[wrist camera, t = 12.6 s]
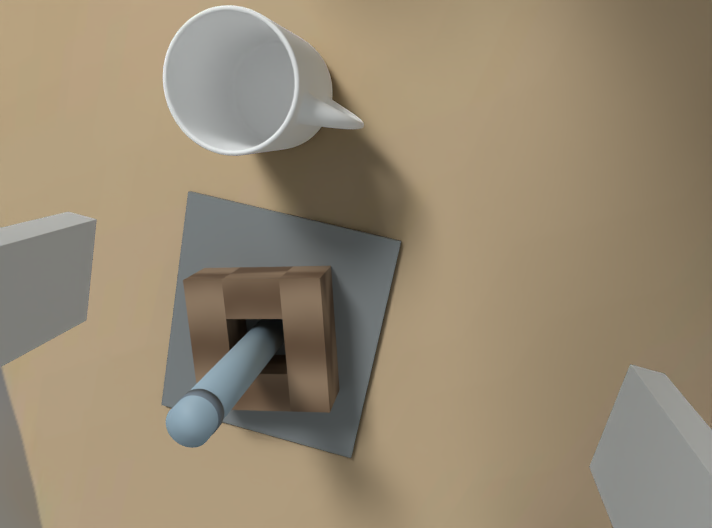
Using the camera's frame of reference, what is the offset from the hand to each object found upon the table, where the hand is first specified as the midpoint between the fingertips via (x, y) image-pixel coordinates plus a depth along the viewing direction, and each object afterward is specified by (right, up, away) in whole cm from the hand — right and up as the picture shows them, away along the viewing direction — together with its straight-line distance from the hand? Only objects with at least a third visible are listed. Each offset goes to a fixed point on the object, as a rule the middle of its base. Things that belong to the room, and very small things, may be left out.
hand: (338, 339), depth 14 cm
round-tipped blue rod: (-7, -4, +35) cm, 36 cm away
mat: (-7, -4, +35) cm, 36 cm away
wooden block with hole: (-7, -4, +35) cm, 36 cm away
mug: (-4, +15, +31) cm, 34 cm away
